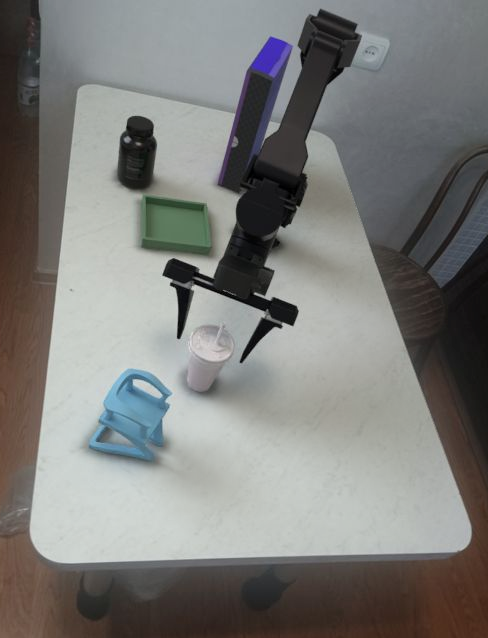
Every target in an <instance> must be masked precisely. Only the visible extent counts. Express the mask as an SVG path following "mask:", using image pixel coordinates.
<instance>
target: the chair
mask: <svg viewBox="0 0 488 638" xmlns="http://www.w3.org/2000/svg"><path fill="white" fill-rule="evenodd" d="M135 380H138V381H139V380H140V381H142V382H146V383H148V384H150V385H151V386H153V387H154V388H155V389H156V390H157V391H158V392H159V393H160V394H161V395H162V396H160V398H159V397H157V396H155V395H153V394H151V393H148V392H147V391H144V390H143V389H141V388H139V387H138V386H135V385H134V381H135ZM172 395H173V391H171V390H170V389H169V388H167V387H166V386H165V384H164V383H162V381H161V380H160V379H159V378H158V377H157V376H155V375H154V374H153V373H151V372H149V371H147V370H142V369H137V368H127V369H126V370H125V371H123V372H122V373H121V374H120V375H119V377H118V378H117V379H116V380H115V381H114V383H113V385H112V386H111V387H110V389H109V391H108V392H107V393H106V396H105V397H104V399H103V402H102V405H103V408H104V409H105V410H104V411H103V412H102V414H101V415H100V416H99V418H98V422H97V423H99V424H101V425H100V426H99V427H98V429H97V430H96V431H95V433H94V434H93V435H92V437H90V440H89V441H88V447H89V449H92V450H95V451H98V452H103V453H104V452H105V453H108V454H109V453H110V454H115V455H121V456H126V457H131V458H137V459H140V460H145V461H148V462H152V461H154V458H155V454H154V452H153V451H152V450H150V448H148V447H147V443H148V442H149V441H150V442H151V443H153V445H155V446H157V447H162V446H163V445H164V432H163V419H164V417H165V415H166V414H167V412H168V411H169V409H170V407H171V403H169V402H167V400H168V398H169V397H170V396H172ZM107 428H109V429H111V430H112V431H114V432H116V433H117V434H119V435H121V436H122V437H124V438H125V439H126V440H127V441H129V442H130V443H131V444H132V445H133V446H127V445H122V444H121V445H119V444H115V443H114V444H113V443H106V442H99V439H100V437H101V436H102V435H103V433H104V432H105V430H106V429H107Z"/></svg>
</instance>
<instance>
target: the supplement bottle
mask: <svg viewBox="0 0 488 638" xmlns="http://www.w3.org/2000/svg"><path fill="white" fill-rule="evenodd" d="M154 129H155V125H154V122H153V121H152V120H151V119H150V118H148V117H146V116H142V115H132V116H129V117H128V118H127V120H126V126H125V130H124V131H123V132H122V133H121V134H120V136H119V144H118V156H117V157H118V159H117V170H116V171H117V172H116V176H117V179H118V181H119V182H120V183H121V184H122V185H123V186H125V187H128V188H129V189H134V190H141V189H146V188H147V187H149V186H150V185H151V184H152V183H153V180H154V179H153V178H154V172H155V164H156V157H157V149H158V142H157V139H156V137H155V136H154Z"/></svg>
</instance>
